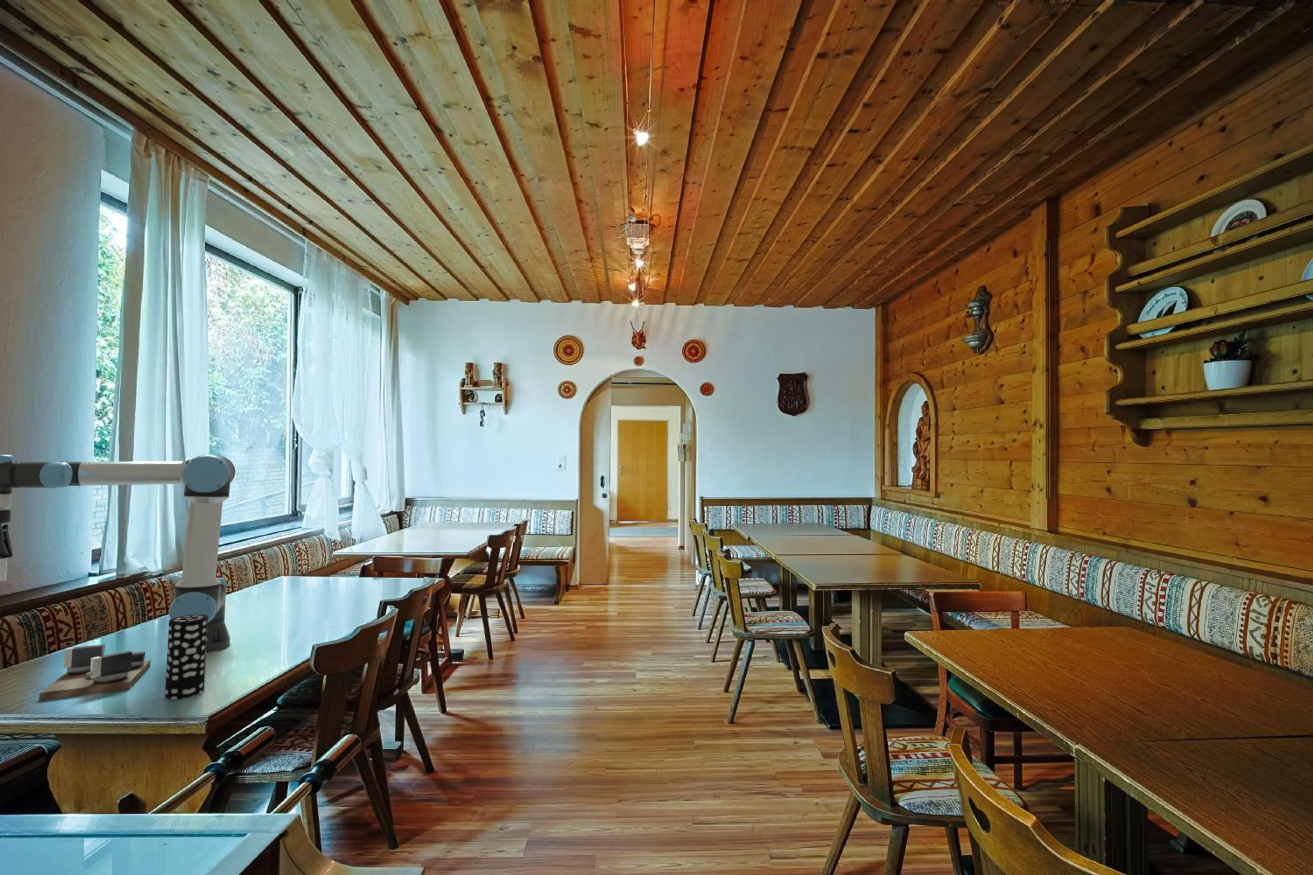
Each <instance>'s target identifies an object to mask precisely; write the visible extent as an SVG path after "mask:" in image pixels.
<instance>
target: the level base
mask: <svg viewBox="0 0 1313 875" xmlns="http://www.w3.org/2000/svg"><path fill="white" fill-rule="evenodd" d="M151 661H152V660H151V659H149V660H144V664H143V665H142V666H139V667H136V668H132V669H131V670H128V677H126V678H125V679H122V680H119V681H115V682H110V683H94V682H93V679H94V678H93V679H92V678H91V677H90V672H88V673H83V674H67V671H66V672H65V673H63V674H62V675H61V676H59V677H58V678H57V679H56V680H54V681H53V682H51V684H49V685H48V686H47V687H45V688H43V690H41V691H40V692H39V696H38V697H39V699H38V701H39V700H40V701H46V700H45V699H48V700H56V699H63V698H70V697H77V696H86V695H93V694H101V693H102V694H103V693H109V692H110V693H111V692H117V691H118V692H119V691H126V690H130V689H131V688H132V687H133V686H134V684H136V682H138V680H140V678H141V677H143V675H144V674H145V673H146V672H147V671H148V670H149V669H150V668H151ZM149 667H150V668H149ZM148 668H149V669H148Z"/></svg>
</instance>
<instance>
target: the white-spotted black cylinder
mask: <svg viewBox="0 0 1313 875" xmlns="http://www.w3.org/2000/svg"><path fill="white" fill-rule="evenodd" d="M207 626H208V616H207V615H187V616H181V617H176V618H173V619H169V620H168V631H167V632H168V634H167V648H166V649H167V651H166V652H167V653H166V668H165V669H166V672H165V685H164V686H165V688H164V691H165V692H164V697H165V699H167V700H181V699H187V698H191V697H195V696H197V695H200V694H202V693H203V692H205V681H206V661H207V652H206V646H207Z"/></svg>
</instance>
